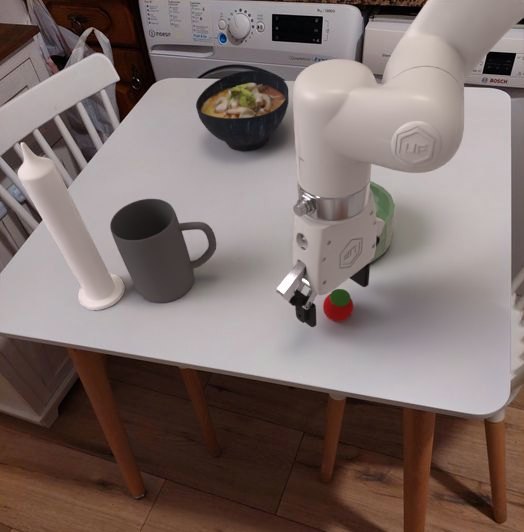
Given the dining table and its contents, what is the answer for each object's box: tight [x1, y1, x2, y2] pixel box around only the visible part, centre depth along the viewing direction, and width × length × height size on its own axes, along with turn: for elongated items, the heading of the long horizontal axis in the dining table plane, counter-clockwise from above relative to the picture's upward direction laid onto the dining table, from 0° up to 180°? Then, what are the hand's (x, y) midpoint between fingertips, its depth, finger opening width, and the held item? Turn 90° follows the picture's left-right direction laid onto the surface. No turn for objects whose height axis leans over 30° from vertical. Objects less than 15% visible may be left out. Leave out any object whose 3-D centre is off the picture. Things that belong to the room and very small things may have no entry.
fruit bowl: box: [294, 180, 396, 263], centre depth 77 cm, size 14×14×6 cm
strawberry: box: [322, 288, 354, 323], centre depth 68 cm, size 4×4×4 cm
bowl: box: [195, 70, 290, 152], centre depth 96 cm, size 17×17×10 cm
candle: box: [17, 142, 126, 311], centre depth 68 cm, size 7×7×25 cm
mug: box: [109, 198, 217, 304], centre depth 73 cm, size 14×9×12 cm
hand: (332, 300), depth 68 cm, fingers open, 9 cm apart
